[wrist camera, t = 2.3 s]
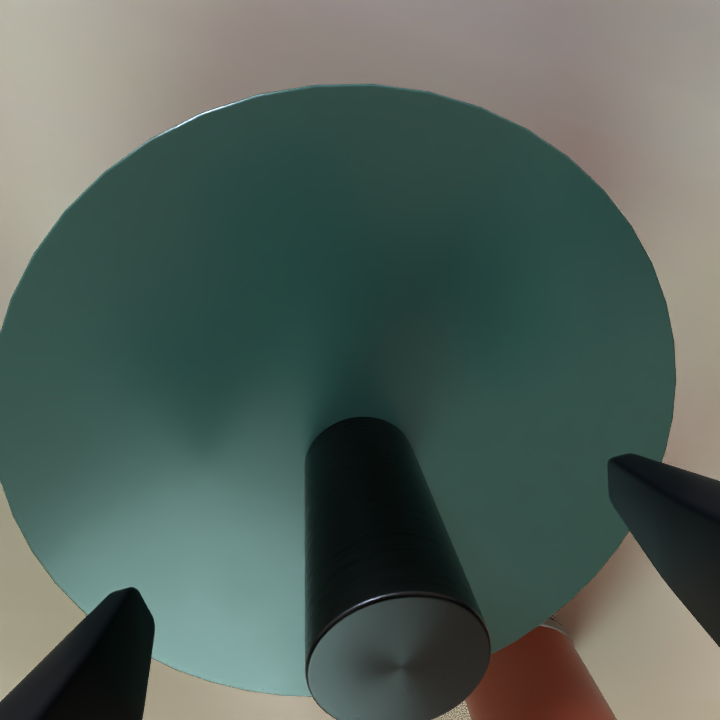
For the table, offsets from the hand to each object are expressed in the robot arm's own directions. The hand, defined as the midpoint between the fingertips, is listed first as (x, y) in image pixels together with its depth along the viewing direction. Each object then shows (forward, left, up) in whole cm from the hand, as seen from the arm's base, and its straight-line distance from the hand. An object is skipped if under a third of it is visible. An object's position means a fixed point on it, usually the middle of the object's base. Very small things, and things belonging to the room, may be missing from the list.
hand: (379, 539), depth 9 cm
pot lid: (0, 0, -3) cm, 3 cm away
